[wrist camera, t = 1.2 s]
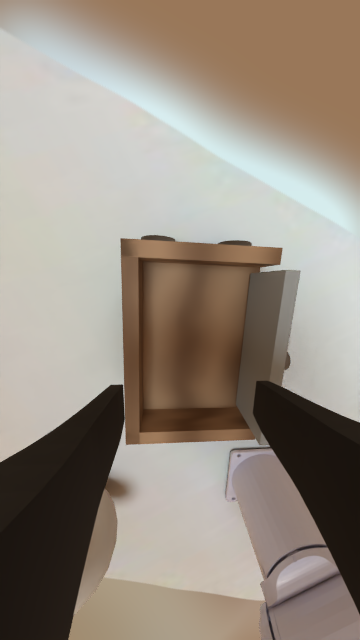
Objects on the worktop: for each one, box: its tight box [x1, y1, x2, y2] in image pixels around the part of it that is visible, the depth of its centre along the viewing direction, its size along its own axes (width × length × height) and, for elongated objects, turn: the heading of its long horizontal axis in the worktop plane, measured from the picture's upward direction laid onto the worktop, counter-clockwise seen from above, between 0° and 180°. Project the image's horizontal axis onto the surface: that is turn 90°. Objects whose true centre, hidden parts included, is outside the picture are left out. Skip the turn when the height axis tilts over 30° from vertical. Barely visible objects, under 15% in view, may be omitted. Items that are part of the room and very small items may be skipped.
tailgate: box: [236, 270, 300, 445], centre depth 16 cm, size 2×14×5 cm, turn 178°
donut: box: [73, 488, 117, 616], centre depth 18 cm, size 10×4×10 cm, turn 67°
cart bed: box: [121, 235, 282, 445], centre depth 17 cm, size 12×19×5 cm, turn 178°
